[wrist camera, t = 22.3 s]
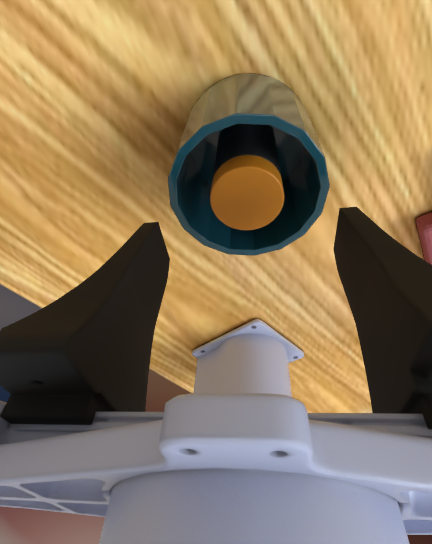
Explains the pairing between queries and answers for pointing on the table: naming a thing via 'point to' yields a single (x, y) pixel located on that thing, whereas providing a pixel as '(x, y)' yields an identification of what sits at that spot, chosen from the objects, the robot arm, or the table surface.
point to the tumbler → (291, 153)
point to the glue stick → (247, 177)
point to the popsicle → (425, 235)
